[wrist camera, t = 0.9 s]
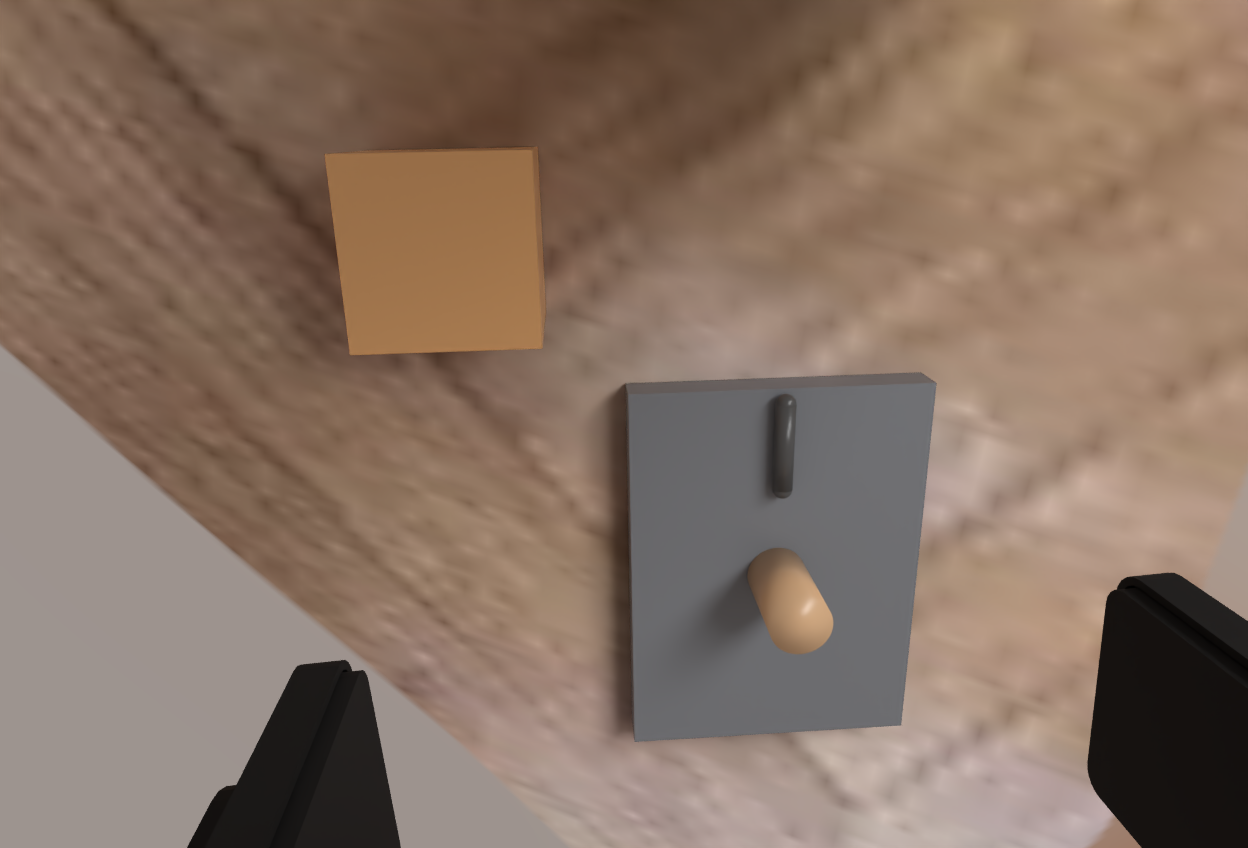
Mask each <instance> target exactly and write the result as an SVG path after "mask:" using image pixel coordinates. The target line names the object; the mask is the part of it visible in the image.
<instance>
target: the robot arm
mask: <svg viewBox="0 0 1248 848" xmlns="http://www.w3.org/2000/svg"><path fill="white" fill-rule="evenodd" d="M1088 774H1089V778H1090V781H1091V784H1092V786H1093V788H1094V790H1095V792H1096V793H1097V795H1098V796H1099V798H1100V799H1101V800H1102V801H1103V802H1104V803H1105V805H1106V806H1107V807H1108V808H1109V809H1110V811H1111V812H1112V813H1113V814H1114V815H1115V817H1116V818H1117V819H1118V820H1119V821H1120V822H1121V823H1122V825H1123V826H1124V827H1125V828H1126V830H1127V831H1128V832H1129V833H1130V834H1131V836H1132V837H1133V838H1134V839H1135V840H1136V841H1137V843H1138V844H1139V845H1140V846H1141V847H1142V848H1248V621H1247V620H1245V619H1244V618H1242V617H1241V616H1239V615H1238V614H1236V613H1235V612H1233V611H1232V610H1230V609H1229V608H1227V607H1226V606H1225V605H1223V604H1222V603H1220V602H1219V601H1217V600H1216V599H1214V598H1212V597H1211V596H1210V595H1208V594H1207V593H1205V592H1204V591H1202V590H1201V589H1199V588H1198V587H1197V586H1195V585H1194V584H1192V583H1191V582H1189V581H1188V580H1186V579H1185V578H1183V577H1182V576H1180V575H1178V574H1175V573H1161V574H1151V575H1142V576H1132V577H1126V578H1125V579H1123V580H1121V582H1120V583H1119V585H1118V587H1117V590H1114V591H1112V592H1110V594H1109V595H1108V597H1107V601H1106V608H1105V616H1104V625H1103V634H1102V642H1101V651H1100V659H1099V668H1098V677H1097V685H1096V694H1095V702H1094V711H1093V720H1092V728H1091V737H1090V745H1089V754H1088ZM187 848H401V847H400V840H399V835H398V830H397V825H396V820H395V815H394V810H393V804H392V799H391V794H390V789H389V784H388V779H387V774H386V768H385V763H384V758H383V753H382V748H381V743H380V738H379V733H378V727H377V722H376V717H375V712H374V707H373V702H372V696H371V692H370V687H369V682H368V677H367V675H366V673H365V671H363V670H361V671H352V669H351V666H350V664H349V662H347V661H346V660H341V661H331V662H323V663H312V664H303V665H299V666H297V667H296V669H295V670H294V671H293V673H292V675H291V677H290V679H289V681H288V683H287V686H286V688H285V690H284V691H283V693H282V696H281V697H280V699H279V701H278V703H277V705H276V707H275V709H274V711H273V713H272V715H271V717H270V719H269V721H268V723H267V725H266V727H265V729H264V731H263V733H262V735H261V737H260V739H259V741H258V743H257V745H256V748H255V749H254V752H253V753H252V755H251V757H250V759H249V761H248V763H247V765H246V767H245V769H244V771H243V773H242V775H241V777H240V779H239V781H238V783H237V785H233V786H226V787H224V788H223V789H221V790H220V791H218V793H217V794H216V796H215V797H214V799H213V800H212V801H211V803H210V805H209V807H208V809H207V811H206V813H205V815H204V816H203V818H202V820H201V822H200V824H199V826H198V828H197V830H196V832H195V834H194V836H193V837H192V839H191V841H190V843H189V845H188V847H187Z"/></svg>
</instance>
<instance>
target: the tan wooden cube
mask: <svg viewBox="0 0 1248 848" xmlns="http://www.w3.org/2000/svg"><path fill="white" fill-rule="evenodd" d="M324 155H325V163H326V170H327V178H328V186H329V194H330V202H331V210H332V218H333V225H334V233H335V241H336V249H337V257H338V265H339V273H340V281H341V288H342V296H343V304H344V312H345V320H346V328H347V336H348V343H349V351H350V355H372V354H401V353H430V352H459V351H487V350H516V349H542V347H543V337H544V327H545V317H546V301H545V280H544V260H543V240H542V220H541V200H540V179H539V159H538V147H506V148H459V149H412V150H368V151H356V152H344V153H332V154H324Z"/></svg>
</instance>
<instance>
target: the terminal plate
mask: <svg viewBox="0 0 1248 848" xmlns="http://www.w3.org/2000/svg"><path fill="white" fill-rule="evenodd" d="M935 392H936V382H934V381H933V380H931V379H930V378H928V377H927V376H925V375H924V374H922V373H897V374H870V375H844V376H817V377H790V378H763V379H737V380H710V381H683V382H656V383H630V384H626V433H627V484H628V535H629V587H630V638H631V689H632V723H633V732H634V740H635V742H639V741H656V740H672V739H688V738H704V737H720V736H737V735H753V734H769V733H785V732H802V731H818V730H834V729H850V728H866V727H883V726H899V725H901V721H902V711H903V701H904V692H905V682H906V672H907V663H908V653H909V643H910V634H911V624H912V614H913V605H914V595H915V585H916V576H917V566H918V556H919V547H920V537H921V527H922V518H923V508H924V498H925V489H926V479H927V469H928V460H929V450H930V440H931V431H932V421H933V411H934V402H935Z"/></svg>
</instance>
